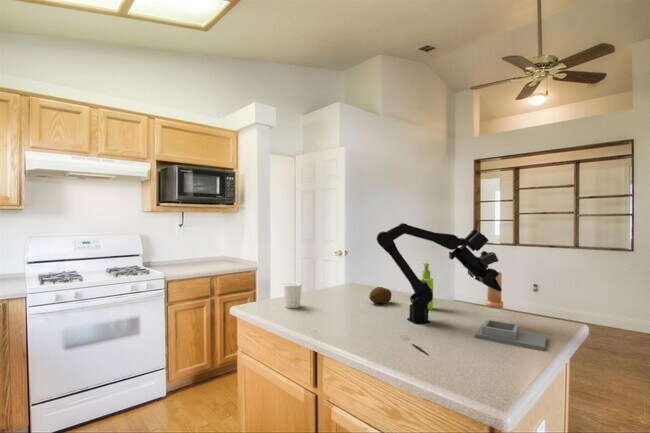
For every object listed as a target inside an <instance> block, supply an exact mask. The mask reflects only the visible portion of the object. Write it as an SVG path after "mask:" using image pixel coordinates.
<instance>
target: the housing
mask: <svg viewBox="0 0 650 433" xmlns="http://www.w3.org/2000/svg"><path fill="white" fill-rule="evenodd" d="M474 338H476V339H480V340H486V341H490V342H494V343H500V344H506V345H512V346H517V347H522V348H526V349H532V350H538V351H544V352H545V351H546V346H547V345H546V344H547V334H542V333H535V332H529V331H523V330H520V324H518V323H512V322H506V321H500V320H499V321H498V320H492V319H486V321H485V322H484V323H483V324H481V325H480V326H479V328H477V330H476V332H475V333H474Z"/></svg>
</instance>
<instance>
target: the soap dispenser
mask: <svg viewBox="0 0 650 433" xmlns="http://www.w3.org/2000/svg"><path fill="white" fill-rule="evenodd" d="M422 265H424V266H423V268H424V269H423V270H422V273H421V274H422V276H421V277H420V278H418V279H419V280H420V281H422V280H423V279H424V280H425V281H426V282H427V284H428V286H429V287H430V288H431V289H432V290H433V291H431V292H432V294H433V295H434V279H433V278H432V277H431V270H429V266H430V263H428V262H422ZM433 309H434V298H433V299H432V301H431V302H429V303H428V311H432V310H433Z"/></svg>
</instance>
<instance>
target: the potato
mask: <svg viewBox="0 0 650 433" xmlns="http://www.w3.org/2000/svg"><path fill="white" fill-rule="evenodd" d="M391 299H392V292H391V290H390V289H389V288H386V287H382V286H378V287H375V288H373V289H372V290H371V292H370V293H369V300H370V301H371V302H372V303H375V304H387V303H389V302H390V301H391Z"/></svg>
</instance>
